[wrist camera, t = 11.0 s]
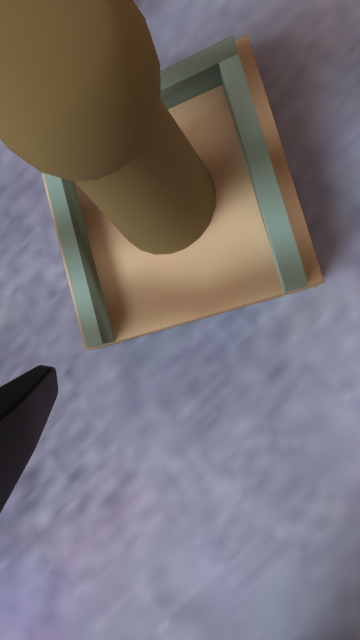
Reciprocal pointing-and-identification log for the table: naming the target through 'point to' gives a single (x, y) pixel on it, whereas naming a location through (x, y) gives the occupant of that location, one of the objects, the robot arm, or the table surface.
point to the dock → (226, 224)
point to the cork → (101, 117)
